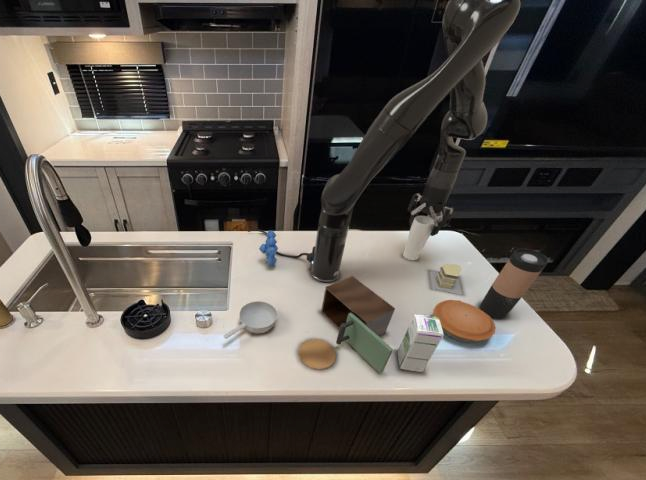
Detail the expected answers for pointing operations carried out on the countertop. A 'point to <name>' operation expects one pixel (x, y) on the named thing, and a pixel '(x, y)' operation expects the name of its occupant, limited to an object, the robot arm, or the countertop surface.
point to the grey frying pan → (256, 318)
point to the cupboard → (356, 305)
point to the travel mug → (513, 282)
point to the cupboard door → (365, 342)
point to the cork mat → (317, 354)
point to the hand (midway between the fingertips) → (422, 229)
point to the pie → (464, 321)
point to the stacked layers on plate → (447, 278)
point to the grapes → (270, 248)
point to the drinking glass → (418, 236)
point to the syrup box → (419, 342)
